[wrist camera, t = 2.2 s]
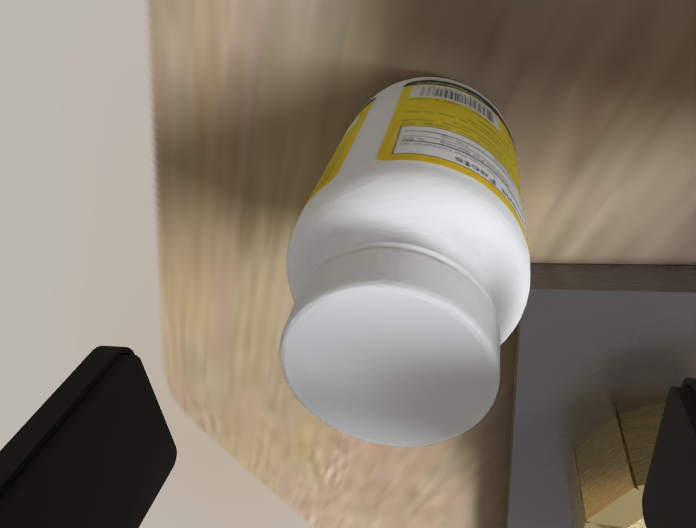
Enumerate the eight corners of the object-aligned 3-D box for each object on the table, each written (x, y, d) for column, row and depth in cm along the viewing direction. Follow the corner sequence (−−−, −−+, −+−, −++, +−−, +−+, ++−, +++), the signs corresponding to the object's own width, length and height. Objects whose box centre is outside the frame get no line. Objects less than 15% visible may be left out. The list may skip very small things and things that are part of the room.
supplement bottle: (383, 247, 20) (313, 482, 12) (320, 109, 17) (181, 286, 9) (535, 207, 18) (574, 459, 10) (488, 43, 15) (489, 202, 7)
